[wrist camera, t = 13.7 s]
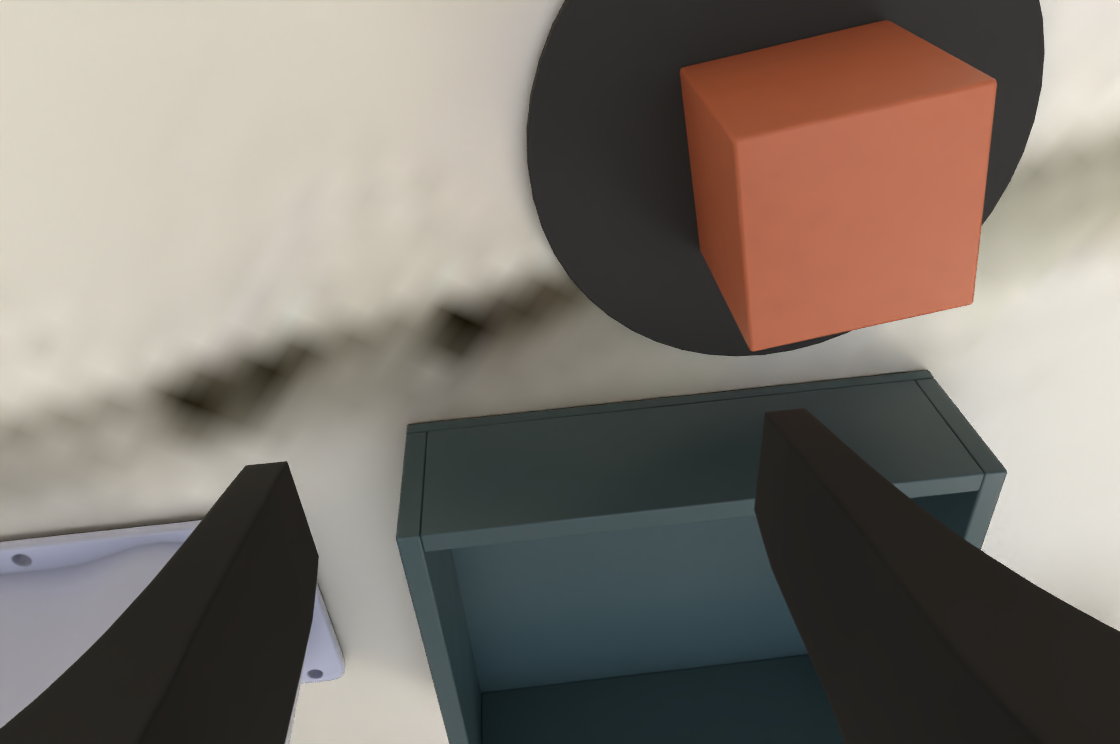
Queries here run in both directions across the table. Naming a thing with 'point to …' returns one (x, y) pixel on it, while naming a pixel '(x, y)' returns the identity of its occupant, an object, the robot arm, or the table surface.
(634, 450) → the tote
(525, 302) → the table surface
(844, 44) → the block
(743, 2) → the coaster
